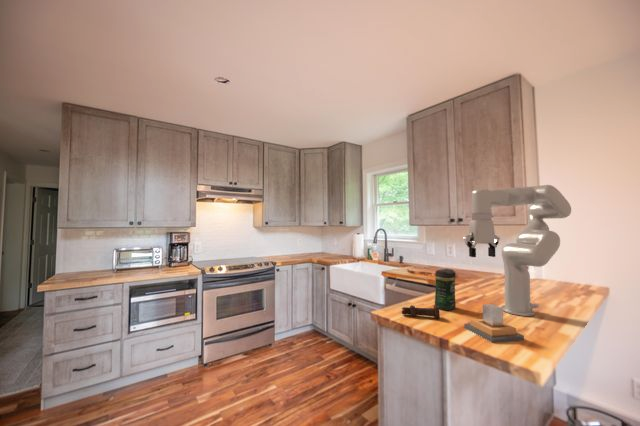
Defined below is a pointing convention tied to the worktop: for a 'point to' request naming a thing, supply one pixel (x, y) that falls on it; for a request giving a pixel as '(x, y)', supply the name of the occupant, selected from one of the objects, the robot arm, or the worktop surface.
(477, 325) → the square socket base
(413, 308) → the bolt
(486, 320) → the block
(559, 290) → the worktop surface
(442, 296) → the coffee jar
